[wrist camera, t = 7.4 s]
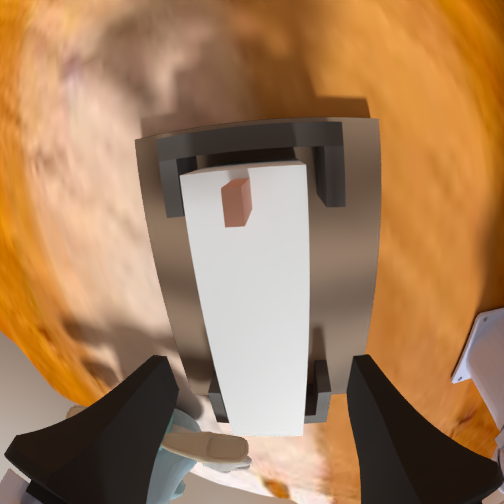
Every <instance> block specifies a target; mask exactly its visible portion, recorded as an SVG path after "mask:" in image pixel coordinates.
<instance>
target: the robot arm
mask: <svg viewBox="0 0 504 504" xmlns="http://www.w3.org/2000/svg"><path fill="white" fill-rule="evenodd" d="M469 378H472V380H473V382H474V384H475V385H476V387H477V389H478V391H479V392H480V394H481V396H482V398H483V400H484V401H485V403H486V405H487V407H488V409H489V411H490V413H491V415H492V417H493V419H494V421H495V423H496V425H497V427H498V429H499V431H500V434H499V435H498V436H497V437H496V438H495V441H496V443H497V445H498V446H497V448H496V449H495V451H494V454H493V460H491V459H488V458H486V457H484V456H481V455H479V454H477V453H475V452H473V451H471V450H469V449H467V448H465V447H463V446H462V445H460V444H458V443H457V442H455V441H454V440H452V439H451V438H449V437H448V436H447V435H445V434H444V433H442V432H441V431H440V430H438V429H437V428H436V427H434V426H433V425H432V424H431V423H430V422H428V421H427V420H426V419H425V418H424V417H423V416H422V415H421V414H420V413H419V412H417V411H416V410H415V409H414V408H413V407H412V405H411V404H410V403H409V402H408V401H407V400H406V399H405V398H404V397H403V396H402V395H401V394H400V392H399V391H398V390H397V389H396V388H395V387H394V386H393V384H392V383H391V382H390V381H389V380H388V378H387V377H386V376H385V375H384V373H383V372H382V371H381V369H380V368H379V367H378V366H377V364H376V363H375V362H374V360H373V359H372V358H371V356H370V355H369V354H367V355H357V356H353V359H352V365H351V370H350V375H349V380H348V385H347V390H346V393H347V403H348V412H349V417H350V422H351V426H352V431H353V435H354V440H355V444H356V449H357V454H358V459H359V466H360V480H361V504H482V500H483V499H484V498H486V497H487V496H489V495H490V494H491V493H493V492H494V491H496V490H497V489H499V490H500V491H501V492H502V493H503V494H504V308H500V309H496V310H492V311H487V312H483V313H480V314H478V316H477V317H476V319H475V322H474V325H473V328H472V331H471V333H470V336H469V339H468V341H467V344H466V346H465V349H464V351H463V354H462V356H461V358H460V361H459V363H458V365H457V367H456V369H455V372H454V374H453V376H452V378H451V382H452V383H457V382H460V381H463V380H466V379H469ZM178 392H179V388H178V386H177V383H176V381H175V378H174V375H173V373H172V370H171V367H170V364H169V362H168V359H167V356H157V355H153V356H152V357H151V358H149V359H148V360H147V361H146V362H145V363H144V364H142V365H141V366H140V367H139V368H138V369H137V370H136V371H134V372H133V373H132V374H131V375H130V376H129V377H127V378H126V379H125V380H124V381H123V382H122V383H120V384H119V385H118V386H117V387H115V388H114V389H113V390H112V391H110V392H109V393H108V394H106V395H105V396H104V397H102V398H101V399H100V400H98V401H97V402H95V403H94V404H92V405H91V406H89V407H88V408H86V409H84V410H83V411H81V412H79V413H78V414H76V415H74V416H72V417H70V418H68V419H66V420H64V421H62V422H59V423H57V424H54V425H52V426H49V427H47V428H44V429H41V430H38V431H34V432H30V433H26V434H21V435H16V437H15V438H14V440H13V441H12V443H11V444H10V446H9V447H8V449H7V451H6V452H5V454H4V455H5V457H6V458H7V459H8V460H9V461H10V462H11V463H12V464H13V465H14V466H15V467H17V468H18V469H19V470H20V471H21V472H22V473H24V474H25V475H26V476H27V477H28V478H30V479H31V482H30V484H29V483H28V482H27V481H25V480H24V479H23V478H21V477H20V476H19V475H17V474H16V473H15V472H14V471H13V470H11V469H8V471H7V473H6V474H5V476H4V477H3V479H2V481H1V483H0V504H146V502H147V495H148V489H149V484H150V479H151V474H152V470H153V466H154V462H155V459H156V456H157V453H158V450H159V447H160V445H161V442H162V440H163V437H164V435H165V432H166V430H167V427H168V425H169V422H170V420H171V417H172V415H173V412H174V409H175V405H176V401H177V396H178ZM500 504H504V501H503V502H501V503H500Z"/></svg>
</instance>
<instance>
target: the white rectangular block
mask: <svg viewBox="0 0 504 504" xmlns="http://www.w3.org/2000/svg"><path fill="white" fill-rule="evenodd" d="M180 182H181V190H182V197H183V204H184V211H185V217H186V224H187V230H188V237H189V243H190V249H191V254H192V260H193V266H194V271H195V277H196V282H197V287H198V292H199V297H200V302H201V307H202V312H203V317H204V322H205V326H206V331H207V336H208V340H209V344H210V349H211V353H212V357H213V362H214V366H215V370H216V374H217V378H218V382H219V386H220V390H221V394H222V397H223V401H224V405H225V409H226V412H227V416H228V420H229V423H230V427H231V430H232V434H233V435H241V436H303V428H304V414H305V400H306V385H307V367H308V343H309V299H310V261H309V216H308V191H307V173H306V164H304V163H303V162H301V161H300V160H298V159H296V158H288V159H271V160H257V161H245V162H234V163H224V164H216V165H212V166H209V167H206V168H202V169H199V170H196V171H193V172H190V173H186V174H183V175H180Z"/></svg>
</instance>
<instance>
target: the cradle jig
mask: <svg viewBox="0 0 504 504" xmlns="http://www.w3.org/2000/svg"><path fill="white" fill-rule="evenodd" d="M135 148H136V157H137V165H138V172H139V179H140V186H141V193H142V199H143V205H144V211H145V217H146V222H147V227H148V233H149V238H150V243H151V248H152V252H153V257H154V261H155V266H156V270H157V275H158V279H159V283H160V287H161V291H162V295H163V299H164V303H165V306H166V310H167V314H168V317H169V321H170V325H171V328H172V332H173V335H174V338H175V342H176V345H177V348H178V351H179V355H180V358H181V361H182V364H183V367H184V370H185V373H186V376H187V379H188V382H189V385H190V387H191V390H192V393H193V394H198V395H209V398H210V401H211V404H212V408H213V411H214V414H215V417H216V420H217V422H222V423H229V420H228V416H227V412H226V409H225V405H224V401H223V397H222V394H221V390H220V386H219V382H218V378H217V374H216V370H215V366H214V362H213V357H212V353H211V349H210V344H209V340H208V336H207V331H206V326H205V322H204V317H203V312H202V307H201V302H200V297H199V292H198V287H197V282H196V277H195V271H194V266H193V260H192V254H191V249H190V243H189V237H188V230H187V224H186V217H185V211H184V204H183V197H182V190H181V182H180V175H183V174H186V173H190V172H193V171H196V170H199V169H202V168H206V167H209V166H212V165H216V164H224V163H234V162H245V161H257V160H271V159H288V158H296V159H298V160H300V161H301V162H303V163H304V164H306V173H307V191H308V216H309V261H310V299H309V343H308V367H307V385H306V400H305V414H304V424H305V423H320V422H326V420H327V415H328V409H329V404H330V398H331V395H333V394H343V393H346V390H347V385H348V380H349V375H350V370H351V365H352V359H353V356H357V355H364V354H365V349H366V344H367V338H368V333H369V327H370V321H371V314H372V307H373V300H374V293H375V284H376V275H377V265H378V254H379V240H380V221H381V149H380V131H379V119H374V118H352V117H303V118H280V119H265V120H253V121H243V122H234V123H225V124H218V125H210V126H204V127H197V128H191V129H185V130H179V131H174V132H169V133H164V134H159V135H154V136H150V137H145V138H141V139H136V140H135Z"/></svg>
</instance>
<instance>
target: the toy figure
mask: <svg viewBox="0 0 504 504" xmlns="http://www.w3.org/2000/svg"><path fill="white" fill-rule="evenodd" d="M86 408H88V407H86V406H83V405H74V406H73V407H71V408H70V410H69V411H68V413H67V416H66V419H68V418H70V417H72V416H74V415H76V414H78V413H79V412H81V411H83V410H84V409H86ZM247 454H248V443H247V440H245V439H244V438H242V437H237V436H231V435H226V434H217V433H212V432H201V429H200V427H199V425H198V424H197V422H196V421H195V420H194V419H193V418H192V417H191V416H189V415H188V414H186V413H185V412H183V411H181V410H179V409H176V408H175V409H174V412H173V415H172V417H171V420H170V422H169V425H168V427H167V430H166V432H165V435H164V437H163V440H162V442H161V445H160V447H159V450H158V453H157V456H156V459H155V462H154V466H153V470H152V474H151V479H150V484H149V489H148V495H147V502H146V504H169V502H170V500H171V499H175V498H178V497H180V496H181V495H183V494H184V489H185V484H184V482H183V480H182V478H183V477H184V475H185V474H187V473H188V472H189V471H190V470H191V469H192V468H193V467H194V465H195V464H196V463H197V461H198V462H201V463H202V464H203V466H207V467H209V468H211V469H214V470H216V471H219V472H221V473H230V471H234V470H247V469H248V468H249V467H250V464H251V462H252V459H251V458H250V457H249V456H247Z"/></svg>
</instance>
